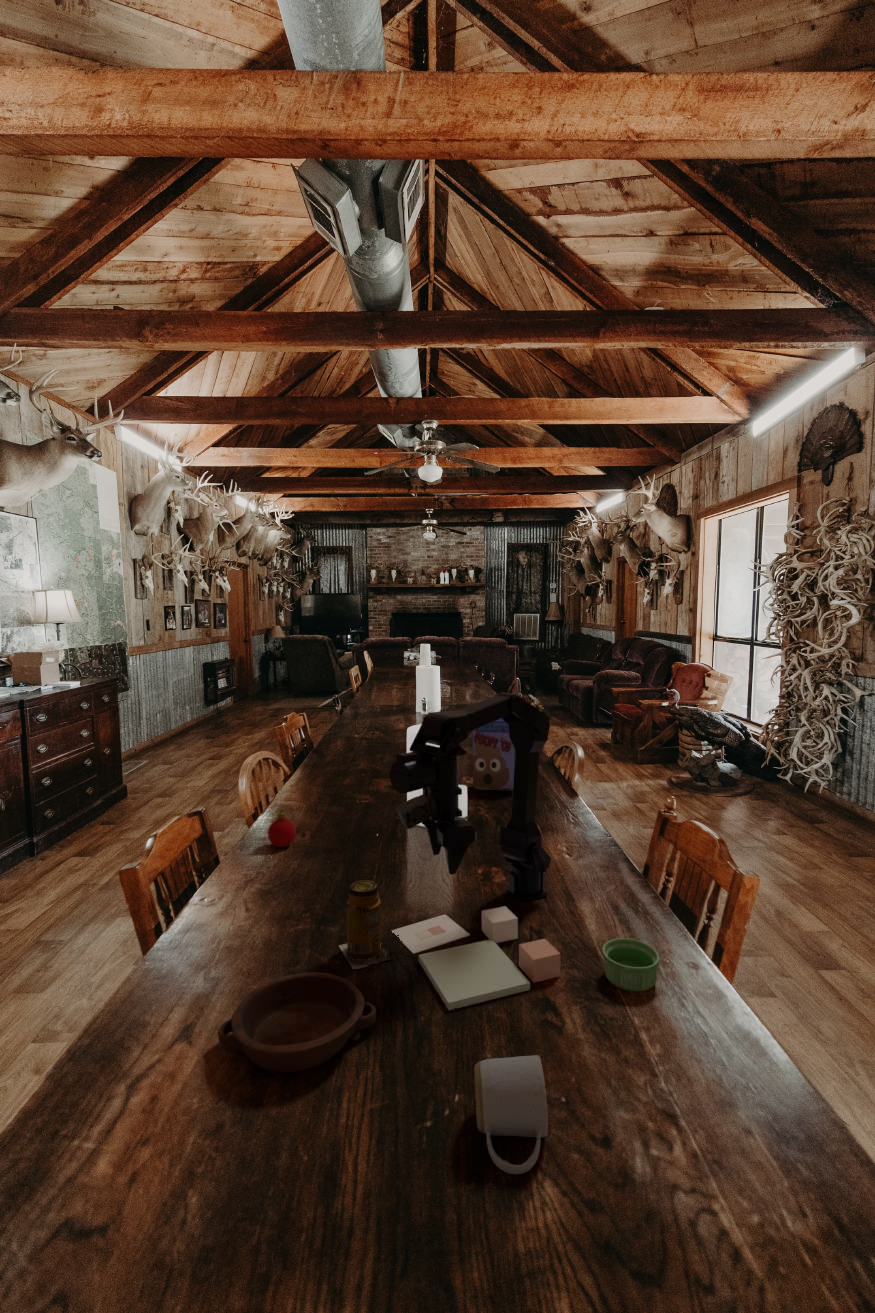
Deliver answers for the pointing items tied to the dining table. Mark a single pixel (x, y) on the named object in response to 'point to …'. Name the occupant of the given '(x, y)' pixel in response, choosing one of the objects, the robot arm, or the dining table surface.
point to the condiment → (362, 923)
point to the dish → (297, 1021)
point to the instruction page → (430, 933)
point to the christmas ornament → (281, 831)
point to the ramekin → (630, 964)
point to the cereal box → (493, 756)
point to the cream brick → (499, 924)
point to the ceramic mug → (511, 1103)
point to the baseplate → (472, 974)
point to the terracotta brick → (539, 960)
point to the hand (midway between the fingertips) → (443, 864)
